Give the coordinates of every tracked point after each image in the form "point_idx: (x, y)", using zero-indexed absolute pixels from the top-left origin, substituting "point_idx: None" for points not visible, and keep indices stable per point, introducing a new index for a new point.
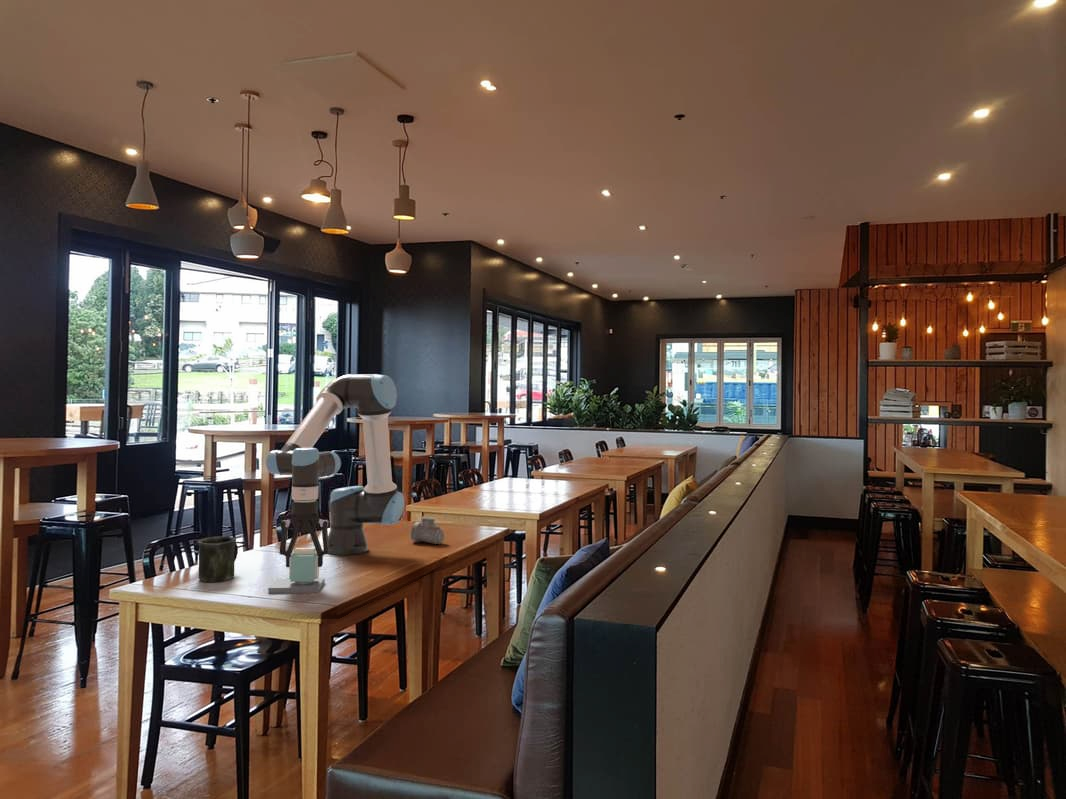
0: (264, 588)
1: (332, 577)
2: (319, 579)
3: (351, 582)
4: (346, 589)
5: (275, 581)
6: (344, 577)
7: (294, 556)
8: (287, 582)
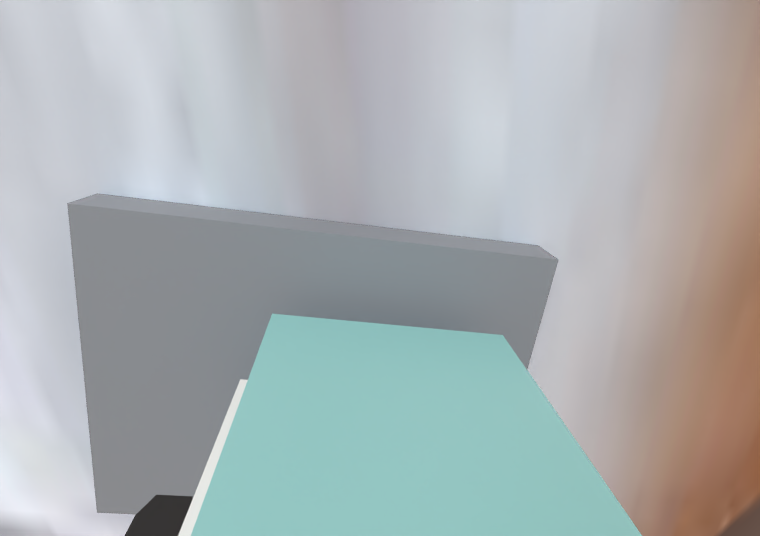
0: (35, 348)
1: (639, 22)
2: (507, 305)
3: (753, 256)
4: (665, 441)
5: (89, 323)
6: (751, 47)
7: None
8: (220, 373)
